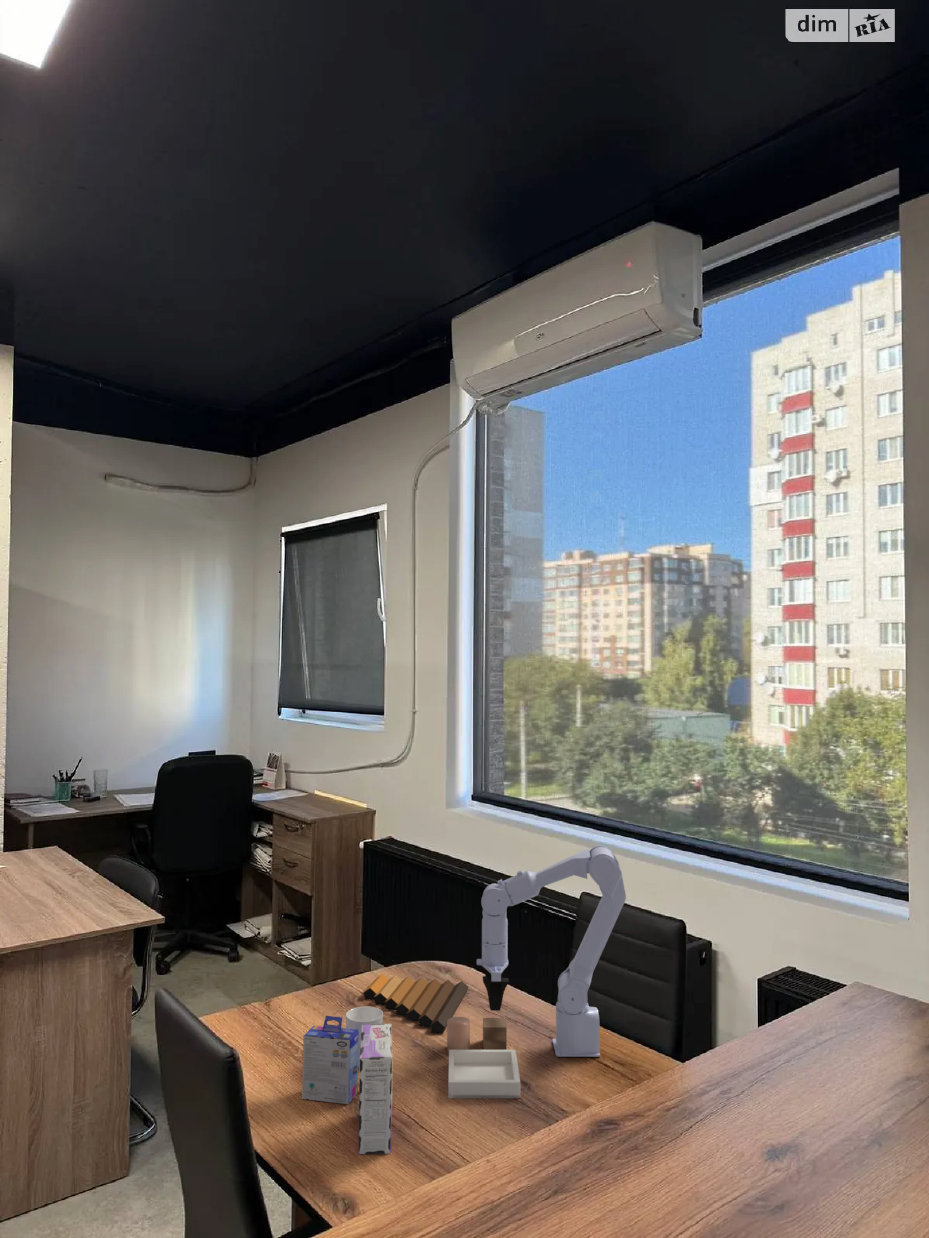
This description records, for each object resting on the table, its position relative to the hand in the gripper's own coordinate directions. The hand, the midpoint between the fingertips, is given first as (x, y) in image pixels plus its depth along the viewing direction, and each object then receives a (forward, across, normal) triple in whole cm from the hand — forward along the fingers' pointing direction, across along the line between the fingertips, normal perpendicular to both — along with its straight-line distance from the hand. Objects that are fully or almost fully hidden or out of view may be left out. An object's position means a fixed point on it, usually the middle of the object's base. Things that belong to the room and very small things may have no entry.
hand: (494, 1002), depth 187 cm
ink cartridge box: (+9, +22, -33) cm, 41 cm away
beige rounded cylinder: (+9, +2, -8) cm, 12 cm away
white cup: (+9, +8, -28) cm, 31 cm away
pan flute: (+10, -21, -20) cm, 31 cm away
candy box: (+9, +35, -23) cm, 43 cm away
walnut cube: (+9, 0, 0) cm, 9 cm away
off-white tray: (+9, +16, -3) cm, 19 cm away
